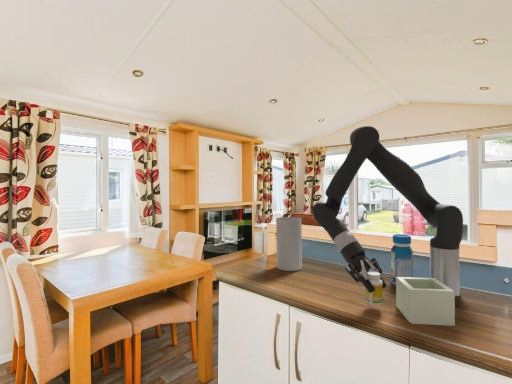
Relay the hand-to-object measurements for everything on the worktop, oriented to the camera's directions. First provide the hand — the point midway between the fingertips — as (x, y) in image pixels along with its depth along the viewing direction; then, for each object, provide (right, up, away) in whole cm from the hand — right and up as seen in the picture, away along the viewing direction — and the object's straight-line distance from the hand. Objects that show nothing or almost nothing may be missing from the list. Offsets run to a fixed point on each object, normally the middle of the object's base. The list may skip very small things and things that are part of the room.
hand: (378, 289), depth 92 cm
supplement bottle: (-1, -5, +2) cm, 5 cm away
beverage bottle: (+21, -6, +26) cm, 34 cm away
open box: (+12, -7, -4) cm, 15 cm away
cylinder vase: (-23, -7, +50) cm, 56 cm away
